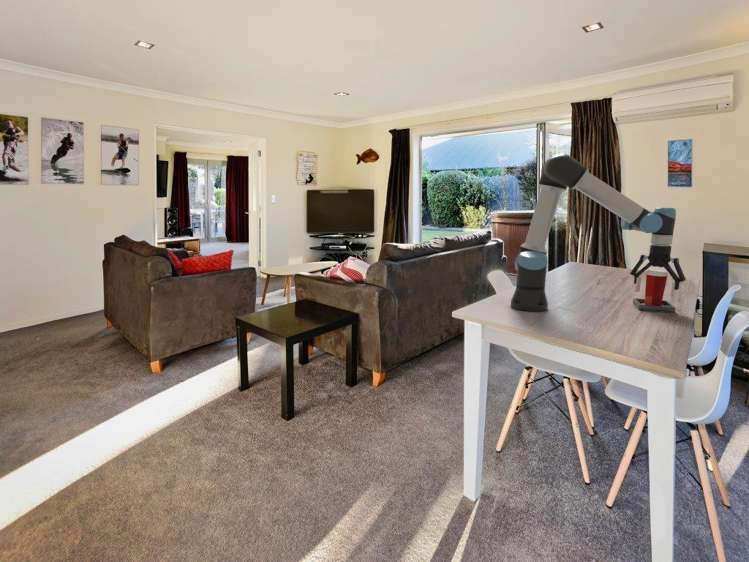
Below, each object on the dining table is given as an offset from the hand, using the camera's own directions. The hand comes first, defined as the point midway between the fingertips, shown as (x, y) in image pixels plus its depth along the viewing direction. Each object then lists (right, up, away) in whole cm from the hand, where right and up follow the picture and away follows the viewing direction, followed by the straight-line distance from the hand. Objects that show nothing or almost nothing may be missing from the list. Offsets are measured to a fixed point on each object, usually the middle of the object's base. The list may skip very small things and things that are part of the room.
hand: (654, 294), depth 189 cm
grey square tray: (0, -6, +1) cm, 6 cm away
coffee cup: (0, -5, +1) cm, 5 cm away
